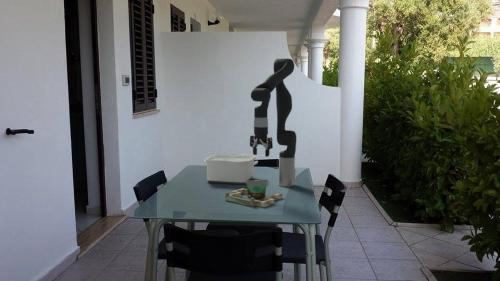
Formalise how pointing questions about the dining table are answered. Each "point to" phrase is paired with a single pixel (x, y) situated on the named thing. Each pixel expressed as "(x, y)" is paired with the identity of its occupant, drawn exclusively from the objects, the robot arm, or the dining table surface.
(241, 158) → the pot
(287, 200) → the dining table surface
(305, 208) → the dining table surface
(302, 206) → the dining table surface
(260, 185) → the food container
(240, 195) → the trap lane
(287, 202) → the dining table surface
